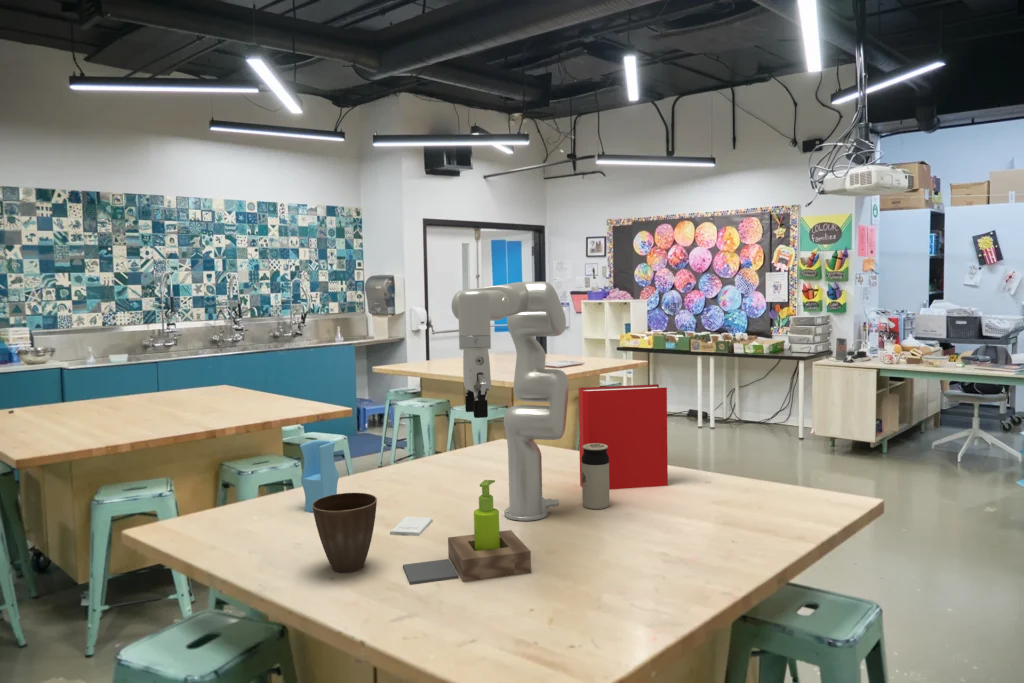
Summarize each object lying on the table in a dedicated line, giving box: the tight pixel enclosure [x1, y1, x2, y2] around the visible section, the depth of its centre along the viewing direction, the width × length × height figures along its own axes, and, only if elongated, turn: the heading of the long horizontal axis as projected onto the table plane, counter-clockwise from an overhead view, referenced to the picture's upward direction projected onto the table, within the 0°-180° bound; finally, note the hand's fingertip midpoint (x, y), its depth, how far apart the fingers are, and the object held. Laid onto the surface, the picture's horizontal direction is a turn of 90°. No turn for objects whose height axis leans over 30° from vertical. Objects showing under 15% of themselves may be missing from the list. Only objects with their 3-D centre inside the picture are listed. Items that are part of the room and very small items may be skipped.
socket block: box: [447, 529, 532, 582], centre depth 179 cm, size 16×16×5 cm
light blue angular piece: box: [299, 439, 340, 513], centre depth 228 cm, size 8×8×20 cm
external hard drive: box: [389, 516, 434, 537], centre depth 209 cm, size 2×8×12 cm
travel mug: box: [581, 443, 611, 510], centre depth 224 cm, size 8×8×18 cm
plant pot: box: [312, 492, 378, 574], centre depth 180 cm, size 15×15×16 cm
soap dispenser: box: [473, 479, 500, 551], centre depth 179 cm, size 6×7×20 cm
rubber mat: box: [402, 558, 459, 585], centre depth 176 cm, size 11×11×1 cm
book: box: [578, 383, 669, 491], centre depth 246 cm, size 27×8×32 cm, turn 98°
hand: (476, 414), depth 181 cm, fingers open, 9 cm apart
